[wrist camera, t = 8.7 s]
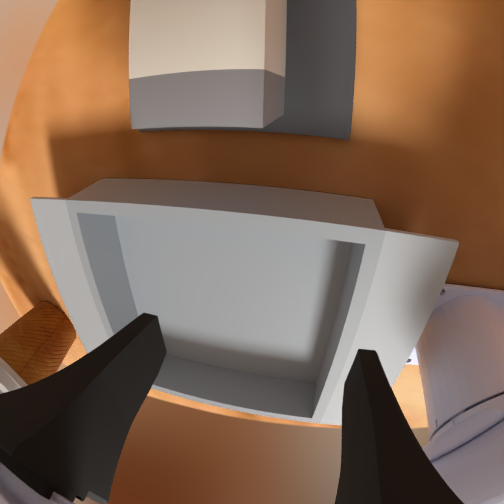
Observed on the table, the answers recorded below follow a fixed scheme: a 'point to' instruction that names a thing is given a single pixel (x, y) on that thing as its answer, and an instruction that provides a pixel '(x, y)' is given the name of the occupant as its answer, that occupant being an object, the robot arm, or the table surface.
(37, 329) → the disposable coffee cup
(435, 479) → the robot arm
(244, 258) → the grey rimmed tray
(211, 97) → the capped box
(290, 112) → the mat
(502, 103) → the table surface
